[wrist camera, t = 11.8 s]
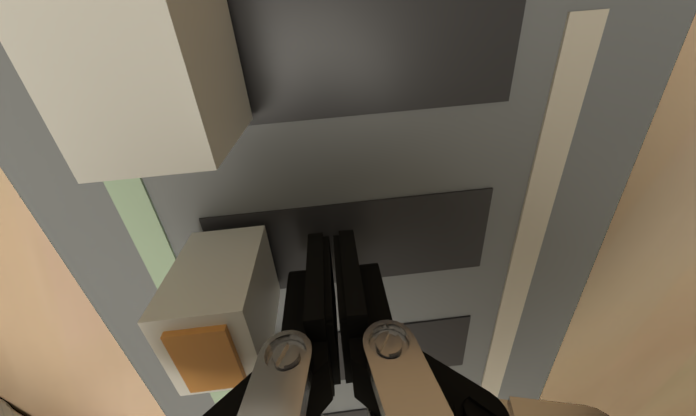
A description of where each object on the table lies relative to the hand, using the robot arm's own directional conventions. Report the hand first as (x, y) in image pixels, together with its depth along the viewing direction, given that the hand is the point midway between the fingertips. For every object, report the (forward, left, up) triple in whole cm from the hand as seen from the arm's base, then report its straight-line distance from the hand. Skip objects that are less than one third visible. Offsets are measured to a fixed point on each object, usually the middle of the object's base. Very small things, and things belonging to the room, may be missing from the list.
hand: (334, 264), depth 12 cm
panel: (-1, +3, -3) cm, 4 cm away
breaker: (+3, -7, -1) cm, 8 cm away
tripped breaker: (+4, 0, -1) cm, 4 cm away
